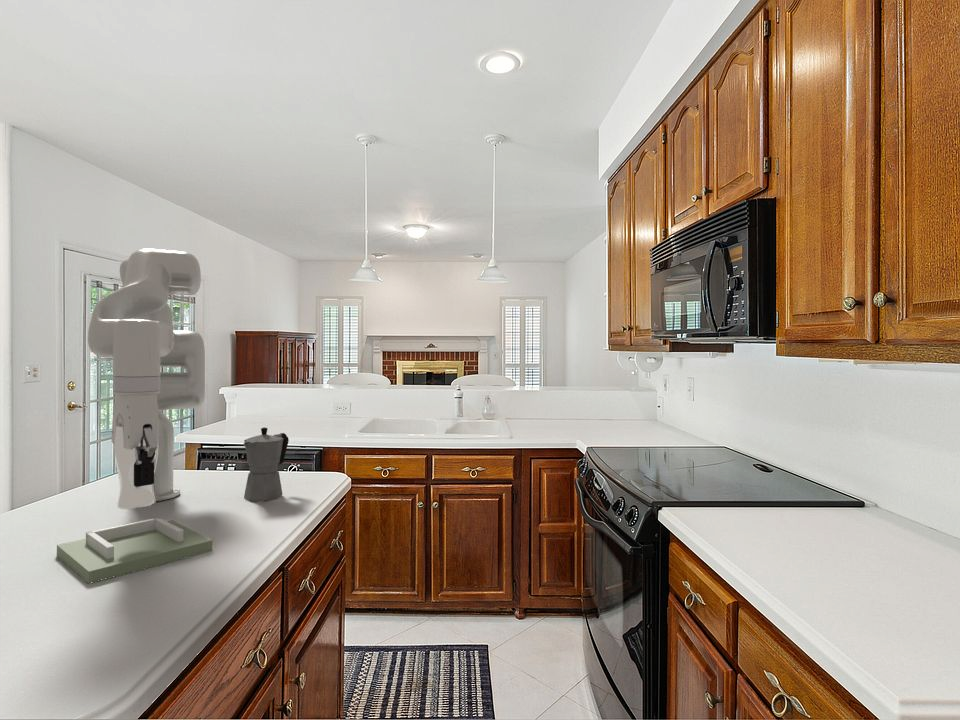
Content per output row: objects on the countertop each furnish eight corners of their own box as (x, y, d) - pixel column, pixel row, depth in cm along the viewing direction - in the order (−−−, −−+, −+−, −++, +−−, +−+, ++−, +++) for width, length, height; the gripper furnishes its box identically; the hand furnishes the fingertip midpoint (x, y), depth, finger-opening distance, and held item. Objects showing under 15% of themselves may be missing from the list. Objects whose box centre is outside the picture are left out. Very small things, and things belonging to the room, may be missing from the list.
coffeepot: (259, 505, 136) (259, 432, 136) (229, 501, 140) (230, 429, 139) (301, 491, 150) (301, 424, 150) (273, 487, 154) (274, 422, 153)
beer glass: (137, 511, 100) (137, 427, 100) (104, 508, 101) (104, 426, 101) (166, 501, 107) (167, 422, 106) (135, 498, 108) (135, 421, 108)
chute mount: (56, 555, 102) (56, 534, 102) (172, 529, 118) (172, 510, 118) (88, 583, 91) (88, 559, 91) (212, 550, 106) (212, 529, 106)
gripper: (97, 384, 106) (97, 478, 107) (131, 389, 95) (131, 494, 96) (141, 382, 112) (140, 471, 112) (178, 387, 101) (177, 486, 101)
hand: (136, 481), depth 104 cm, fingers closed on beer glass, 6 cm apart
